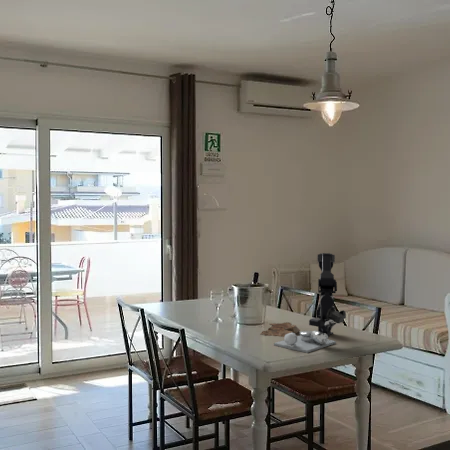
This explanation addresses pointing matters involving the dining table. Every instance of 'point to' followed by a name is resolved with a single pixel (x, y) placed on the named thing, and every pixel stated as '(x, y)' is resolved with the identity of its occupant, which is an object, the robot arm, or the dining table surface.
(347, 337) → the dining table surface
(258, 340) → the dining table surface
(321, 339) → the elbow
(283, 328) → the fossil
